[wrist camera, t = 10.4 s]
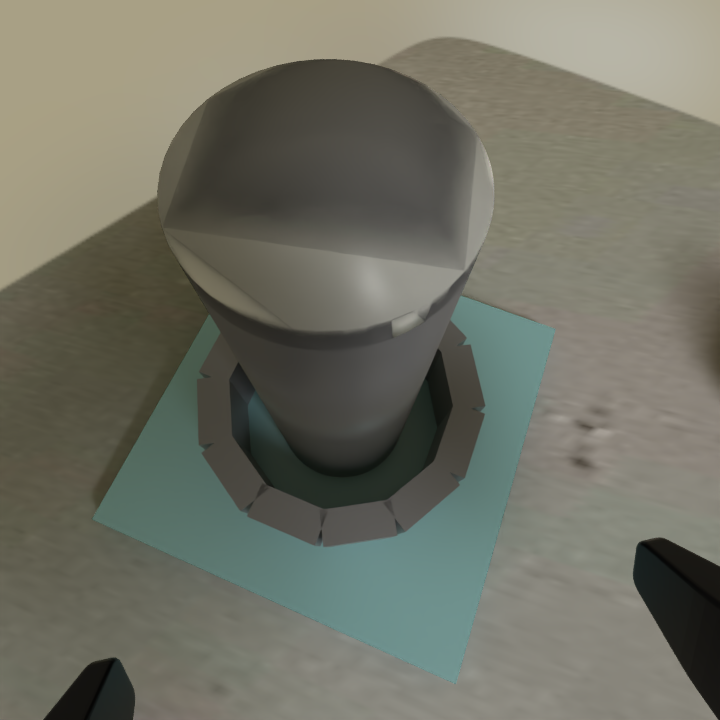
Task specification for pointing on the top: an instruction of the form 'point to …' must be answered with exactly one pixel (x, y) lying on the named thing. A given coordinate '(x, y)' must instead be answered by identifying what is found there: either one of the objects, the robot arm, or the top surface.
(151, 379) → the top surface
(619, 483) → the top surface
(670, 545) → the robot arm
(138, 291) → the top surface
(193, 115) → the plug
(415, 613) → the socket
